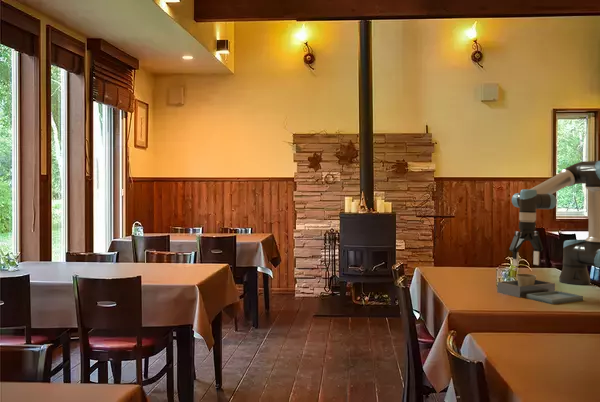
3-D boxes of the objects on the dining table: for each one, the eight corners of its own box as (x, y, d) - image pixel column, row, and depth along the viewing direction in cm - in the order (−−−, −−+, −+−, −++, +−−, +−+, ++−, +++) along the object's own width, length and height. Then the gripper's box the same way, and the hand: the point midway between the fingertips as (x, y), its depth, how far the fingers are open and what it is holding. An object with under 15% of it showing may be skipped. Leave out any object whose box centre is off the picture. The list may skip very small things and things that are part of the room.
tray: (556, 294, 271) (557, 290, 271) (582, 300, 259) (583, 296, 259) (526, 298, 262) (526, 293, 262) (551, 304, 250) (551, 299, 250)
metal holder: (531, 288, 287) (531, 278, 287) (554, 293, 274) (555, 283, 274) (497, 292, 277) (497, 281, 276) (519, 297, 264) (520, 286, 264)
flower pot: (538, 295, 270) (538, 277, 270) (517, 294, 272) (517, 276, 271) (534, 291, 279) (534, 274, 279) (514, 290, 281) (514, 273, 281)
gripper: (539, 220, 283) (538, 263, 284) (502, 221, 272) (500, 265, 273) (552, 221, 276) (550, 265, 277) (514, 222, 265) (512, 267, 266)
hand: (525, 265), depth 275 cm, fingers open, 13 cm apart
